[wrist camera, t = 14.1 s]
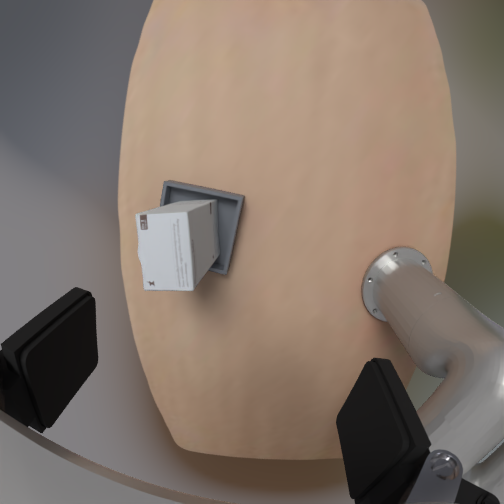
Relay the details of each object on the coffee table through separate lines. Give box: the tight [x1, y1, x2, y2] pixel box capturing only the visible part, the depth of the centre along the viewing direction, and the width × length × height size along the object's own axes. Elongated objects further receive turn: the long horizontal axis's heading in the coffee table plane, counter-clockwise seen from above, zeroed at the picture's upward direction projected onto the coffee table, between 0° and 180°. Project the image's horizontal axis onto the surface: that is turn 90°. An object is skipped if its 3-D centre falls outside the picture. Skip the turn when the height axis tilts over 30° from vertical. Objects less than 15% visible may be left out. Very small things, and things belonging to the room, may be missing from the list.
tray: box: [160, 180, 244, 275], centre depth 42 cm, size 11×11×3 cm
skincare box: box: [135, 199, 220, 291], centre depth 36 cm, size 8×6×15 cm
